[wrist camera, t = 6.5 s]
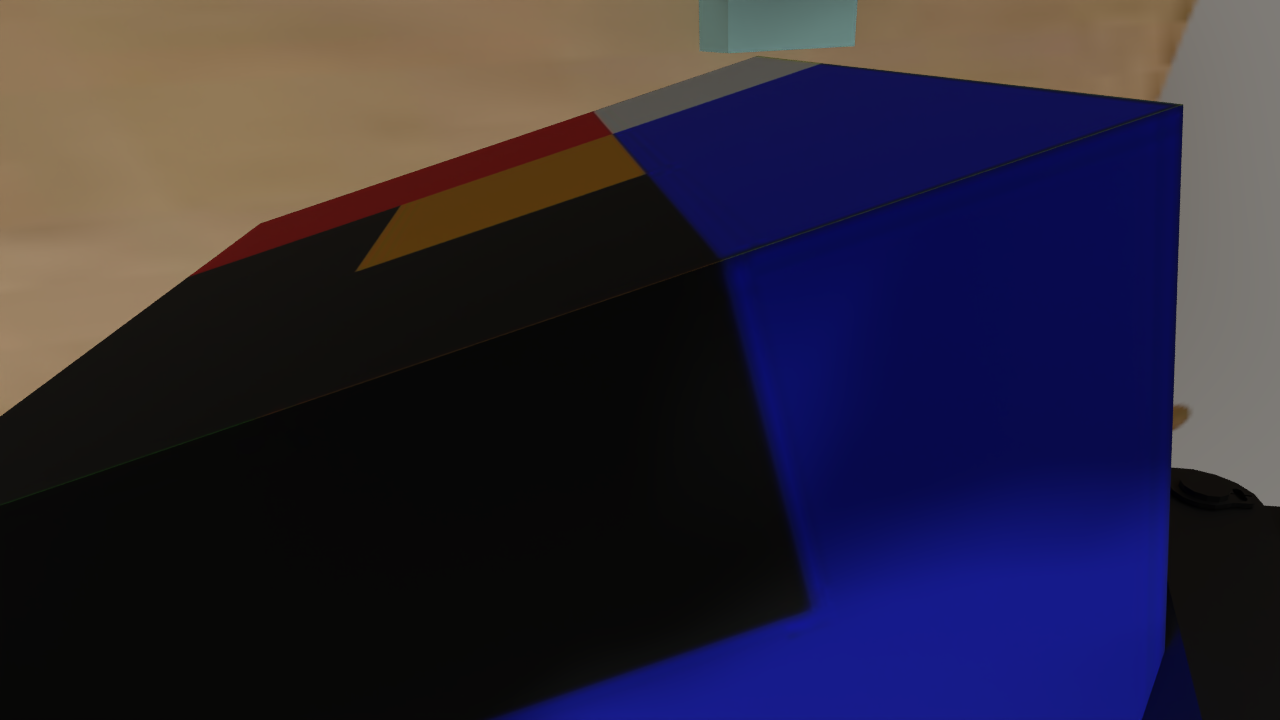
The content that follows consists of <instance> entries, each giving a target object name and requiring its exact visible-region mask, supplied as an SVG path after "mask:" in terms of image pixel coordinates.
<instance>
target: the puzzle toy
mask: <svg viewBox="0 0 1280 720" xmlns="http://www.w3.org/2000/svg"><path fill="white" fill-rule="evenodd" d="M1182 126H1183V104H1174V103H1165V102H1157V101H1148V100H1139V99H1130V98H1122V97H1113V96H1104V95H1095V94H1087V93H1078V92H1069V91H1060V90H1051V89H1043V88H1034V87H1025V86H1016V85H1008V84H999V83H990V82H981V81H972V80H964V79H955V78H946V77H937V76H929V75H920V74H911V73H902V72H893V71H885V70H876V69H867V68H858V67H849V66H841V65H832V64H823V63H814V62H806V61H797V60H788V59H779V58H770V57H762V56H756V57H753V58H750V59H747V60H744V61H741V62H738V63H735V64H732V65H729V66H726V67H723V68H720V69H717V70H714V71H712V72H709V73H706V74H703V75H700V76H697V77H694V78H691V79H688V80H685V81H682V82H679V83H676V84H673V85H670V86H667V87H664V88H661V89H658V90H655V91H652V92H649V93H646V94H643V95H640V96H637V97H634V98H631V99H628V100H625V101H622V102H620V103H617V104H614V105H611V106H608V107H605V108H602V109H599V110H596V111H593V112H590V113H587V114H584V115H581V116H578V117H575V118H572V119H569V120H566V121H563V122H560V123H557V124H554V125H551V126H548V127H545V128H542V129H539V130H536V131H533V132H531V133H528V134H525V135H522V136H519V137H516V138H513V139H510V140H507V141H504V142H501V143H498V144H495V145H492V146H489V147H486V148H483V149H480V150H477V151H474V152H471V153H468V154H465V155H462V156H459V157H456V158H453V159H450V160H447V161H444V162H441V163H439V164H436V165H433V166H430V167H427V168H424V169H421V170H418V171H415V172H412V173H409V174H406V175H403V176H400V177H397V178H394V179H391V180H388V181H385V182H382V183H379V184H376V185H373V186H370V187H367V188H364V189H361V190H358V191H355V192H352V193H350V194H347V195H344V196H341V197H338V198H335V199H332V200H329V201H326V202H323V203H320V204H317V205H314V206H311V207H308V208H305V209H302V210H299V211H296V212H293V213H290V214H287V215H284V216H281V217H278V218H275V219H272V220H269V221H266V222H263V223H260V224H259V225H258V226H256V227H255V228H254V229H252V230H251V231H250V232H248V233H247V234H246V235H244V236H243V237H242V238H240V239H239V240H238V241H236V242H235V243H234V244H232V245H231V246H229V247H228V248H227V249H225V250H224V251H223V252H221V253H220V254H219V255H217V256H216V257H215V258H213V259H212V260H211V261H209V262H208V263H207V264H205V265H204V266H203V267H201V268H200V269H198V270H197V271H196V272H194V273H193V274H192V275H190V276H189V277H188V278H186V279H185V280H184V281H182V282H181V283H180V284H178V285H177V286H176V287H174V288H173V289H172V290H170V291H169V292H167V293H166V294H165V295H163V296H162V297H161V298H159V299H158V300H157V301H155V302H154V303H153V304H151V305H150V306H149V307H147V308H146V309H145V310H143V311H142V312H141V313H139V314H138V315H136V316H135V317H134V318H132V319H131V320H130V321H128V322H127V323H126V324H124V325H123V326H122V327H120V328H119V329H118V330H116V331H115V332H114V333H112V334H111V335H110V336H108V337H107V338H106V339H104V340H103V341H101V342H100V343H99V344H97V345H96V346H95V347H93V348H92V349H91V350H89V351H88V352H87V353H85V354H84V355H83V356H81V357H80V358H79V359H77V360H76V361H75V362H73V363H72V364H70V365H69V366H68V367H66V368H65V369H64V370H62V371H61V372H60V373H58V374H57V375H56V376H54V377H53V378H52V379H50V380H49V381H48V382H46V383H45V384H44V385H42V386H41V387H39V388H38V389H37V390H35V391H34V392H33V393H31V394H30V395H29V396H27V397H26V398H25V399H23V400H22V401H21V402H19V403H18V404H17V405H15V406H14V407H13V408H11V409H10V410H8V411H7V412H6V413H4V414H3V415H2V416H0V720H1142V718H1143V715H1144V712H1145V709H1146V706H1147V703H1148V700H1149V697H1150V694H1151V691H1152V688H1153V685H1154V682H1155V679H1156V676H1157V673H1158V670H1159V667H1160V664H1161V661H1162V658H1163V655H1164V652H1165V631H1166V602H1167V572H1168V542H1169V513H1170V483H1171V453H1172V424H1173V394H1174V393H1173V392H1174V364H1175V334H1176V305H1177V276H1178V274H1177V273H1178V246H1179V216H1180V215H1179V214H1180V187H1181V184H1180V183H1181V157H1182Z"/></svg>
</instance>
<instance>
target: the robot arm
mask: <svg viewBox="0 0 1280 720" xmlns="http://www.w3.org/2000/svg"><path fill="white" fill-rule="evenodd" d="M1142 720H1280V507H1277V506H1264V505H1263V504H1262V503H1261V502H1260V500H1259V499H1258V498H1257V497H1256V496H1255V495H1254V494H1253V493H1251V492H1250V491H1248V490H1247V489H1245V488H1244V487H1242V486H1240V485H1239V484H1237V483H1235V482H1232V481H1230V480H1227V479H1225V478H1222V477H1220V476H1217V475H1214V474H1210V473H1206V472H1202V471H1198V470H1194V469H1183V468H1182V469H1181V468H1171V483H1170V513H1169V542H1168V572H1167V602H1166V631H1165V652H1164V655H1163V658H1162V661H1161V664H1160V667H1159V670H1158V673H1157V676H1156V679H1155V682H1154V685H1153V688H1152V691H1151V694H1150V697H1149V700H1148V703H1147V706H1146V709H1145V712H1144V715H1143V718H1142Z"/></svg>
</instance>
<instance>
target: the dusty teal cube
mask: <svg viewBox="0 0 1280 720" xmlns="http://www.w3.org/2000/svg"><path fill="white" fill-rule="evenodd" d="M856 15H857V0H699V34H700V51H706V52H719V53H740V52H757V51H775V50H793V49H811V48H829V47H847V46H854V45H855V30H856Z"/></svg>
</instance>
